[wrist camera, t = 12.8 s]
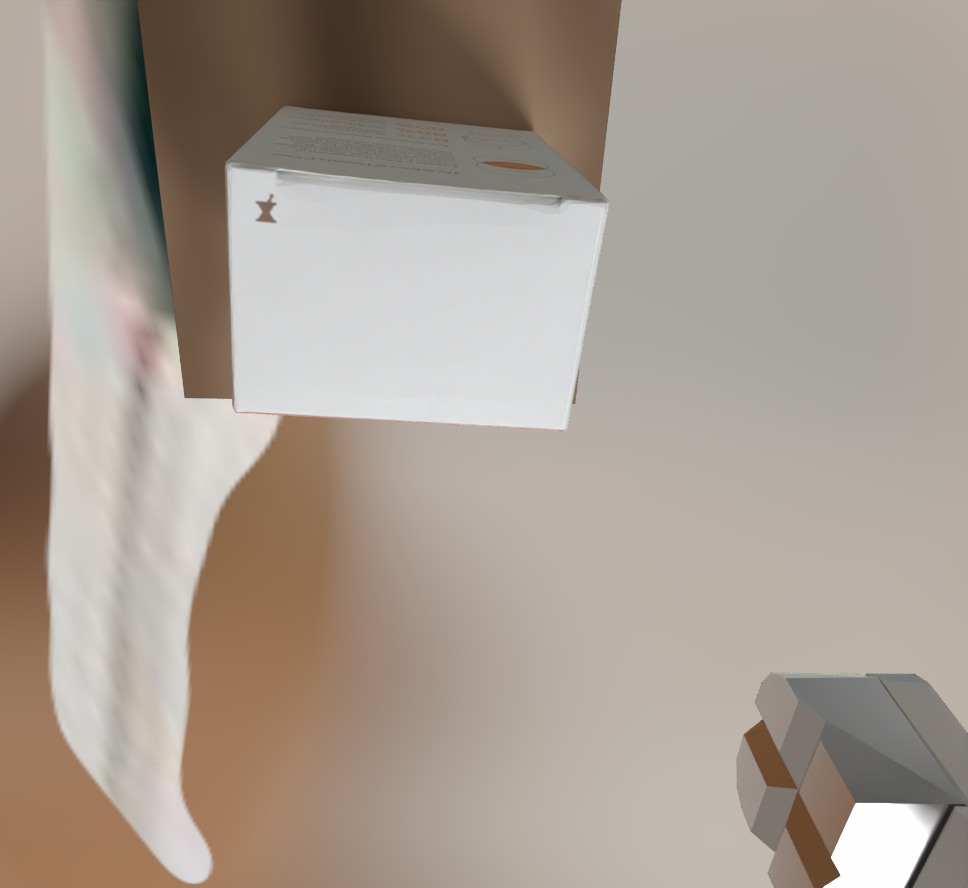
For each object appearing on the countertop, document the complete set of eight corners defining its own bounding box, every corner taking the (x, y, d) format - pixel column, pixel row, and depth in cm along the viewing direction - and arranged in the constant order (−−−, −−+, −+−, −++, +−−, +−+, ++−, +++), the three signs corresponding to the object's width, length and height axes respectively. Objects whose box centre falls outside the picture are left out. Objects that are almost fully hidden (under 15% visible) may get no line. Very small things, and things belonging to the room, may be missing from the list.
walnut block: (591, -26, 29) (625, -30, 25) (553, 353, 36) (574, 403, 31) (173, -54, 28) (129, -64, 23) (213, 346, 34) (184, 397, 30)
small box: (280, 279, 28) (220, 418, 19) (281, 99, 26) (212, 158, 16) (517, 299, 29) (571, 440, 20) (541, 128, 27) (615, 199, 17)
